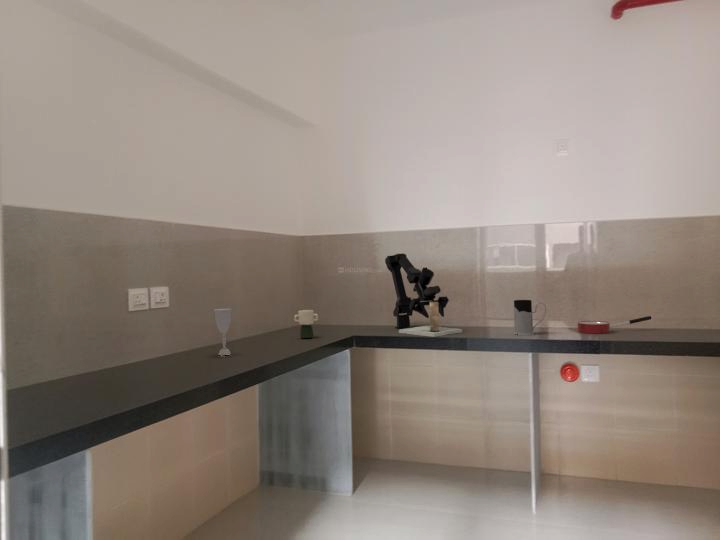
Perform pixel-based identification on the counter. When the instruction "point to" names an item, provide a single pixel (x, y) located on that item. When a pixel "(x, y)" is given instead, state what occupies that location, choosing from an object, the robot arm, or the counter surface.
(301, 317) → the trophy cup
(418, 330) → the seat board
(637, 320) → the frying pan
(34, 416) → the counter surface
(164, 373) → the counter surface
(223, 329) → the chalice
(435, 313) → the beech peg
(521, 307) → the grey mug
